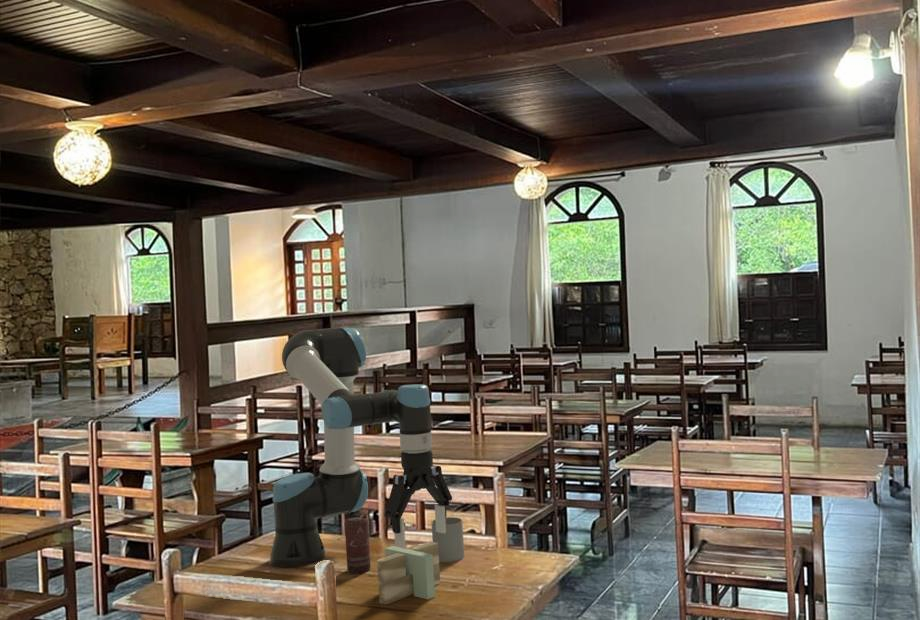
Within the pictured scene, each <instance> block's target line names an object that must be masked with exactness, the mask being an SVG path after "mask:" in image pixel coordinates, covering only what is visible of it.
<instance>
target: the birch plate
mask: <svg viewBox="0 0 920 620" xmlns="http://www.w3.org/2000/svg"><path fill="white" fill-rule="evenodd" d="M411 550H414V551H418V552H423V553H428V554H432V555H433V570H434V586H438V585H439V584H441V573H440V562H439V554H438V543H435V542H433V541H429V542H425V543H423V544H420V545H417V546H414V547H412V548H411ZM376 564H377V565H376V566H377V567H376V568H377V582H378V599H379V603H380V604H383V605H389V604H391V603H395V602H397V601H399V600H402V599H405V598H407V597H409V596H411V595H414V587H413V575H411V574H406V566H405V554H400V553H397V554H394V555H391V556H388V557H386V556H385V557H382V558H380V559H377V560H376Z"/></svg>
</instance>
